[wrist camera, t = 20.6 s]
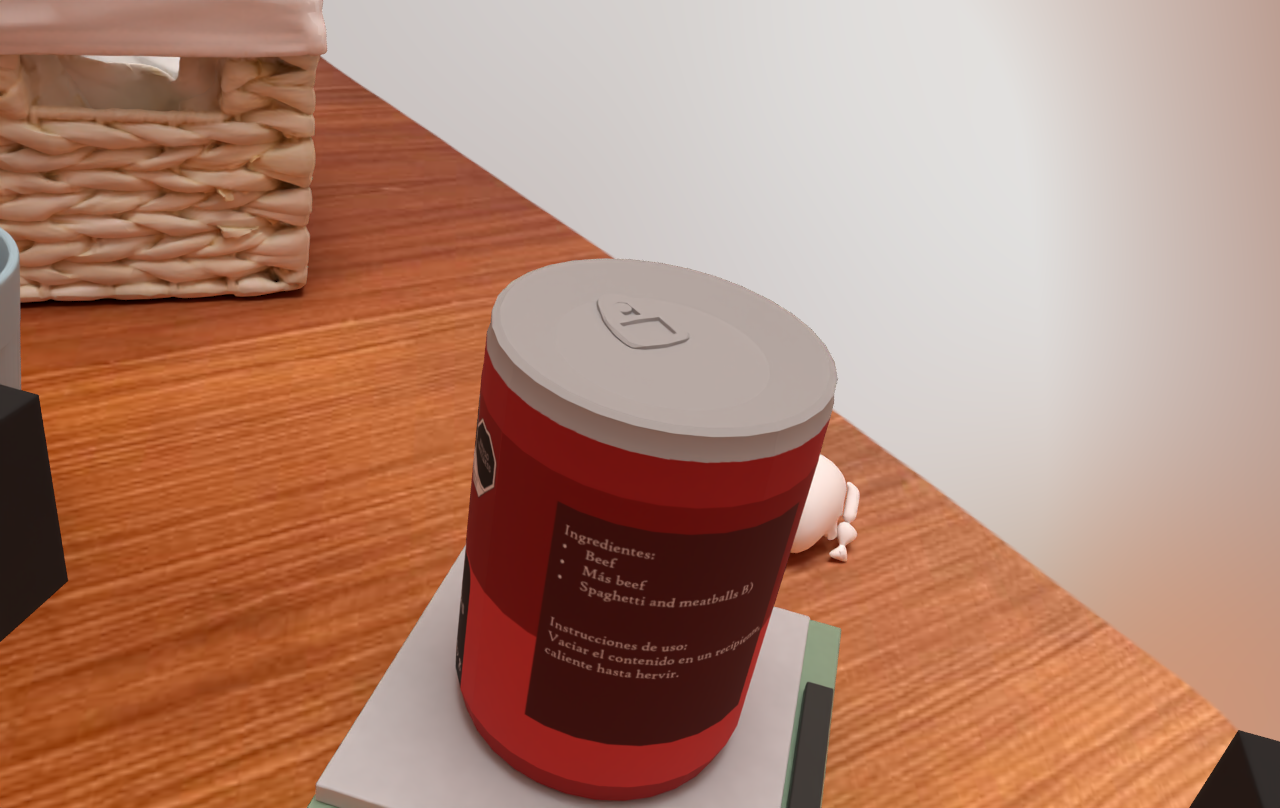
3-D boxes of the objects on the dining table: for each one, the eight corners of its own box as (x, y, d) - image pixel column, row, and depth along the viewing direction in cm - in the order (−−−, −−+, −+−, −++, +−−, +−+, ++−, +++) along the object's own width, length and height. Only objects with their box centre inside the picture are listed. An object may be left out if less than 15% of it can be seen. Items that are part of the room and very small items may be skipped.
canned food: (585, 555, 34) (641, 231, 28) (793, 703, 30) (908, 361, 24) (388, 673, 29) (409, 302, 23) (610, 871, 25) (702, 483, 19)
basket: (333, 312, 51) (337, -17, 43) (-76, 328, 44) (-156, -56, 37) (274, 135, 69) (270, -119, 61) (-22, 127, 62) (-68, -157, 55)
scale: (823, 682, 35) (846, 613, 34) (777, 1042, 25) (808, 967, 24) (475, 581, 37) (482, 510, 35) (298, 883, 26) (298, 803, 25)
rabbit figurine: (861, 605, 39) (683, 502, 36) (795, 614, 42) (627, 521, 40) (898, 462, 41) (735, 357, 39) (833, 481, 45) (678, 386, 42)
